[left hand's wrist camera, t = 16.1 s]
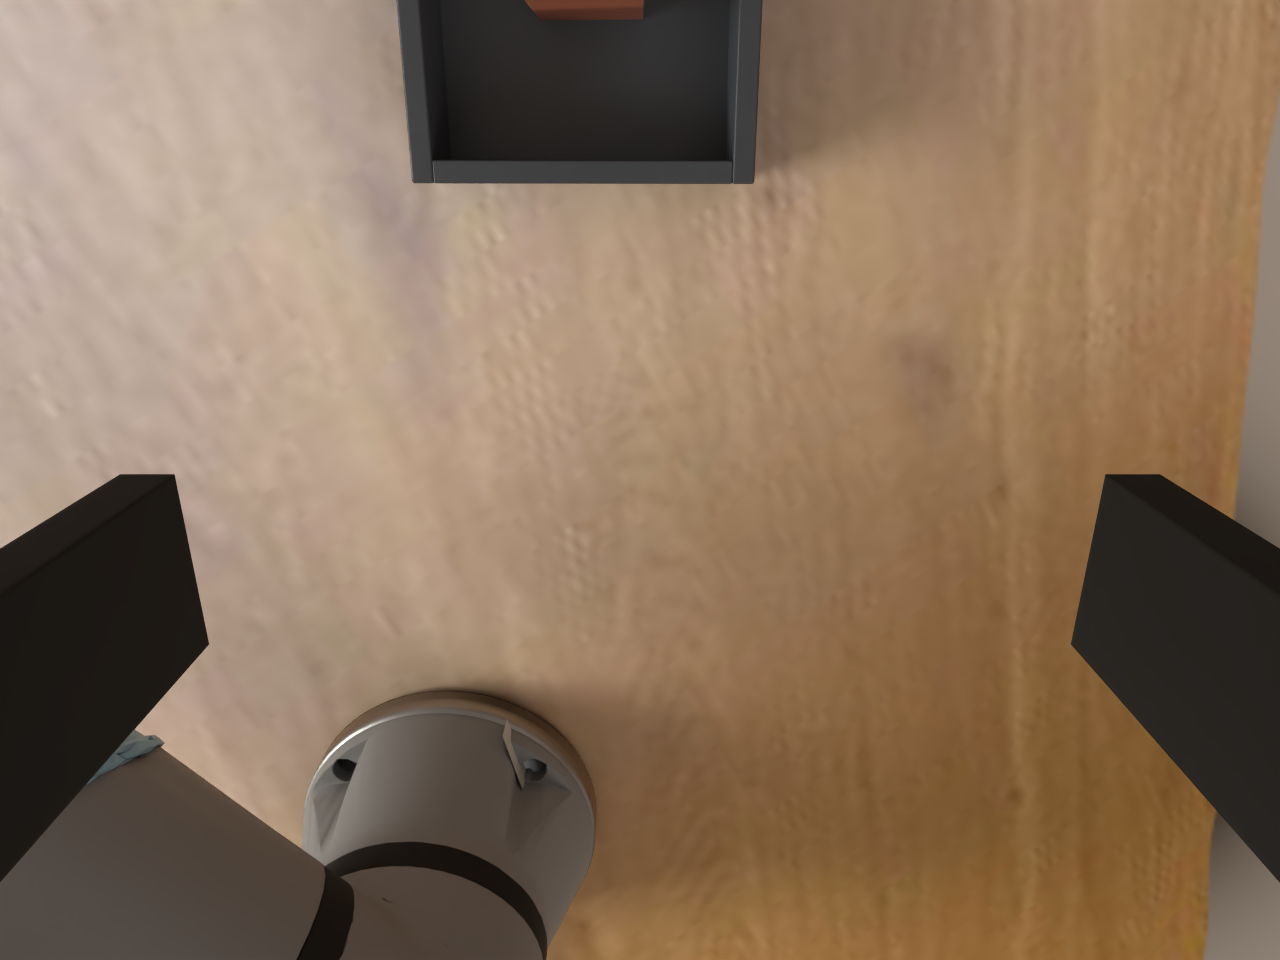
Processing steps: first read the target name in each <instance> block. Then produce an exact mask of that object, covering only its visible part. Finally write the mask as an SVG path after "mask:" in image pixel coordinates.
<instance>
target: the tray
mask: <svg viewBox="0 0 1280 960" xmlns="http://www.w3.org/2000/svg"><path fill="white" fill-rule="evenodd" d="M397 11H398V22H399V34H400V45H401V57H402V69H403V80H404V92H405V103H406V115H407V127H408V138H409V150H410V161H411V173H412V181H413V183H586V184H731V183H733V184H753V183H754V172H755V150H756V129H757V107H758V85H759V64H760V42H761V20H762V0H644V18H643V19H627V20H539V19H538V17H537V16H536V15H535V13H534V12H533V11H532V9H531V8H530V7H529V5H528V4H527V3H526V1H525V0H397Z"/></svg>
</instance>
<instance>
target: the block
mask: <svg viewBox="0 0 1280 960" xmlns="http://www.w3.org/2000/svg"><path fill="white" fill-rule="evenodd" d="M525 1H526V3H527V4H528V5H529V7H530V8H531V9H532V11H533V12H534V13H535V15H536V16H537V17H538V19H539V20H627V19H643V18H644V0H525Z"/></svg>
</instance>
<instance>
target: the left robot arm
mask: <svg viewBox="0 0 1280 960" xmlns="http://www.w3.org/2000/svg"><path fill="white" fill-rule="evenodd" d="M208 645H209V642H208V637H207V632H206V627H205V622H204V617H203V612H202V607H201V602H200V598H199V593H198V588H197V583H196V578H195V573H194V568H193V563H192V558H191V553H190V548H189V544H188V539H187V534H186V529H185V524H184V519H183V514H182V509H181V504H180V499H179V494H178V490H177V485H176V480H175V475H174V474H120V475H118V476H117V477H115V478H114V479H112V480H110V481H109V482H107V483H105V484H104V485H102V486H101V487H99V488H97V489H96V490H94V491H93V492H91V493H89V494H88V495H86V496H85V497H83V498H81V499H80V500H78V501H76V502H75V503H73V504H72V505H70V506H68V507H67V508H65V509H64V510H62V511H60V512H59V513H57V514H55V515H54V516H52V517H51V518H49V519H47V520H46V521H44V522H43V523H41V524H39V525H38V526H36V527H35V528H33V529H31V530H30V531H28V532H26V533H25V534H23V535H22V536H20V537H18V538H17V539H15V540H14V541H12V542H10V543H9V544H7V545H5V546H4V547H2V548H1V549H0V960H546V956H547V949H548V947H549V945H550V943H551V941H552V939H553V937H554V935H555V933H556V931H557V929H558V927H559V925H560V923H561V921H562V919H563V918H564V916H565V914H566V912H567V910H568V908H569V906H570V904H571V902H572V900H573V898H574V896H575V894H576V892H577V890H578V888H579V886H580V884H581V883H582V881H583V879H584V877H585V875H586V873H587V871H588V868H589V866H590V862H591V859H592V856H593V850H594V842H595V827H596V799H595V794H594V789H593V786H592V783H591V780H590V777H589V775H588V772H587V770H586V768H585V766H584V764H583V763H582V761H581V759H580V758H579V756H578V755H577V753H576V752H575V751H574V749H573V748H572V747H571V745H570V744H569V743H568V742H567V741H566V740H565V739H564V738H563V737H562V736H561V735H560V734H559V733H558V732H557V731H555V730H554V729H553V728H552V727H551V726H549V725H548V724H547V723H545V722H544V721H543V720H541V719H540V718H538V717H536V716H535V715H533V714H531V713H530V712H528V711H526V710H524V709H522V708H520V707H518V706H515V705H513V704H510V703H508V702H505V701H502V700H499V699H496V698H492V697H489V696H484V695H479V694H475V693H467V692H456V691H435V692H424V693H417V694H412V695H407V696H403V697H400V698H396V699H393V700H390V701H388V702H385V703H383V704H380V705H378V706H376V707H374V708H372V709H370V710H369V711H367V712H365V713H364V714H362V715H361V716H359V717H358V718H356V719H355V720H354V721H353V722H351V723H350V724H349V725H348V726H347V727H346V728H345V729H344V730H343V731H342V732H341V733H340V734H339V735H338V736H337V737H336V739H335V740H334V741H333V743H332V744H331V745H330V747H329V749H328V751H327V752H326V754H325V756H324V758H323V760H322V762H321V764H320V765H319V767H318V769H317V771H316V773H315V775H314V777H313V779H312V781H311V784H310V786H309V789H308V792H307V796H306V800H305V806H304V824H303V841H302V849H301V848H300V847H298V846H297V845H295V844H294V843H292V842H291V841H289V840H288V839H287V838H285V837H284V836H282V835H281V834H279V833H278V832H276V831H275V830H274V829H272V828H271V827H270V826H268V825H267V824H265V823H264V822H263V821H261V820H260V819H259V818H257V817H256V816H254V815H253V814H252V813H250V812H249V811H247V810H246V809H245V808H243V807H242V806H241V805H239V804H238V803H236V802H235V801H234V800H232V799H231V798H230V797H228V796H227V795H225V794H224V793H223V792H221V791H220V790H219V789H217V788H216V787H214V786H213V785H212V784H210V783H209V782H208V781H206V780H205V779H203V778H202V777H201V776H199V775H198V774H196V773H195V772H194V771H192V770H191V769H190V768H188V767H187V766H185V765H184V764H183V763H181V762H180V761H179V760H177V759H176V758H174V757H173V756H172V755H170V754H169V753H168V752H166V751H165V750H163V749H162V748H161V746H162V745H163V744H164V742H163V741H162V740H161V739H160V738H158V737H157V736H155V735H151V736H144V735H143V734H141V733H139V732H138V731H136V730H135V728H136V727H137V726H138V725H139V723H140V722H141V721H142V720H143V719H144V718H145V717H146V716H147V714H148V713H149V712H150V711H151V710H152V709H153V708H154V706H155V705H156V704H157V703H158V702H159V701H160V700H161V698H162V697H163V696H164V695H165V694H166V693H167V692H168V690H169V689H170V688H171V687H172V686H173V685H174V684H175V682H176V681H177V680H178V679H179V678H180V677H181V676H182V674H183V673H184V672H185V671H186V670H187V669H188V668H189V666H190V665H191V664H192V663H193V662H194V661H195V660H196V658H197V657H198V656H199V655H200V654H201V653H202V652H203V650H204V649H205V648H206V647H207V646H208ZM1071 645H1072V646H1073V647H1074V648H1075V649H1076V650H1077V652H1078V653H1079V654H1080V655H1081V656H1082V657H1083V658H1084V660H1085V661H1086V662H1087V663H1088V664H1089V665H1090V666H1091V668H1092V669H1093V670H1094V671H1095V672H1096V673H1097V674H1098V676H1099V677H1100V678H1101V679H1102V680H1103V681H1104V682H1105V684H1106V685H1107V686H1108V687H1109V688H1110V689H1111V690H1112V692H1113V693H1114V694H1115V695H1116V696H1117V697H1118V698H1119V700H1120V701H1121V702H1122V703H1123V704H1124V705H1125V706H1126V708H1127V709H1128V710H1129V711H1130V712H1131V713H1132V714H1133V716H1134V717H1135V718H1136V719H1137V720H1138V721H1139V722H1140V723H1141V725H1142V726H1143V727H1144V728H1145V729H1146V730H1147V731H1148V733H1149V734H1150V735H1151V736H1152V737H1153V738H1154V739H1155V741H1156V742H1157V743H1158V744H1159V745H1160V746H1161V747H1162V749H1163V750H1164V751H1165V752H1166V753H1167V754H1168V755H1169V757H1170V758H1171V759H1172V760H1173V761H1174V762H1175V763H1176V765H1177V766H1178V767H1179V768H1180V769H1181V770H1182V771H1183V773H1184V774H1185V775H1186V776H1187V777H1188V778H1189V779H1190V781H1191V782H1192V783H1193V784H1194V785H1195V786H1196V787H1197V789H1198V790H1199V791H1200V792H1201V793H1202V794H1203V795H1204V797H1205V798H1206V799H1207V800H1208V801H1209V802H1210V803H1211V805H1212V806H1213V807H1214V808H1215V809H1216V810H1217V811H1218V813H1219V814H1220V815H1221V816H1222V817H1223V818H1224V819H1225V821H1226V822H1227V823H1228V824H1229V825H1230V826H1231V827H1232V828H1233V830H1234V831H1235V832H1236V833H1237V834H1238V835H1239V836H1240V838H1241V839H1242V840H1243V841H1244V842H1245V843H1246V845H1247V846H1248V847H1249V848H1250V849H1251V850H1252V851H1253V852H1254V854H1255V855H1256V856H1257V857H1258V858H1259V859H1260V860H1261V862H1262V863H1263V864H1264V865H1265V866H1266V867H1267V868H1268V870H1269V871H1270V872H1271V873H1272V874H1273V875H1274V876H1275V878H1276V879H1277V880H1278V881H1279V882H1280V549H1279V548H1278V547H1276V546H1275V545H1273V544H1271V543H1270V542H1268V541H1266V540H1265V539H1263V538H1262V537H1260V536H1258V535H1257V534H1255V533H1253V532H1252V531H1250V530H1249V529H1247V528H1245V527H1244V526H1242V525H1241V524H1239V523H1237V522H1236V521H1234V520H1233V519H1231V518H1229V517H1228V516H1226V515H1225V514H1223V513H1221V512H1220V511H1218V510H1216V509H1215V508H1213V507H1212V506H1210V505H1208V504H1207V503H1205V502H1204V501H1202V500H1200V499H1199V498H1197V497H1195V496H1194V495H1192V494H1191V493H1189V492H1187V491H1186V490H1184V489H1183V488H1181V487H1179V486H1178V485H1176V484H1175V483H1173V482H1171V481H1170V480H1168V479H1166V478H1165V477H1163V476H1162V475H1160V474H1106V475H1105V480H1104V485H1103V490H1102V494H1101V499H1100V504H1099V509H1098V514H1097V519H1096V524H1095V529H1094V534H1093V539H1092V544H1091V548H1090V553H1089V558H1088V563H1087V568H1086V573H1085V578H1084V583H1083V588H1082V593H1081V598H1080V602H1079V607H1078V612H1077V617H1076V622H1075V627H1074V632H1073V637H1072V642H1071Z"/></svg>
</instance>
